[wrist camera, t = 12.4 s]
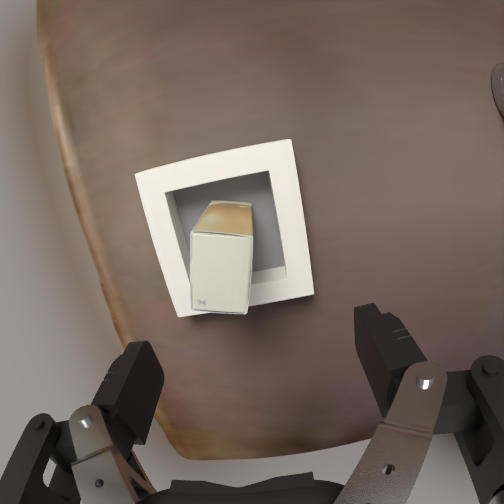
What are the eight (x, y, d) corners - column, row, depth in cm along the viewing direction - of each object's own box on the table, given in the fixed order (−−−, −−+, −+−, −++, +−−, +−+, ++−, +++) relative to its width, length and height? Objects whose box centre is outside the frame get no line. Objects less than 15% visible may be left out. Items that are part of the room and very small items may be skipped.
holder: (286, 139, 30) (291, 139, 26) (308, 279, 35) (314, 294, 32) (146, 170, 30) (134, 174, 27) (183, 301, 36) (178, 317, 33)
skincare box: (248, 257, 34) (248, 319, 22) (208, 254, 33) (189, 315, 22) (252, 199, 31) (255, 235, 20) (210, 196, 31) (189, 231, 20)
